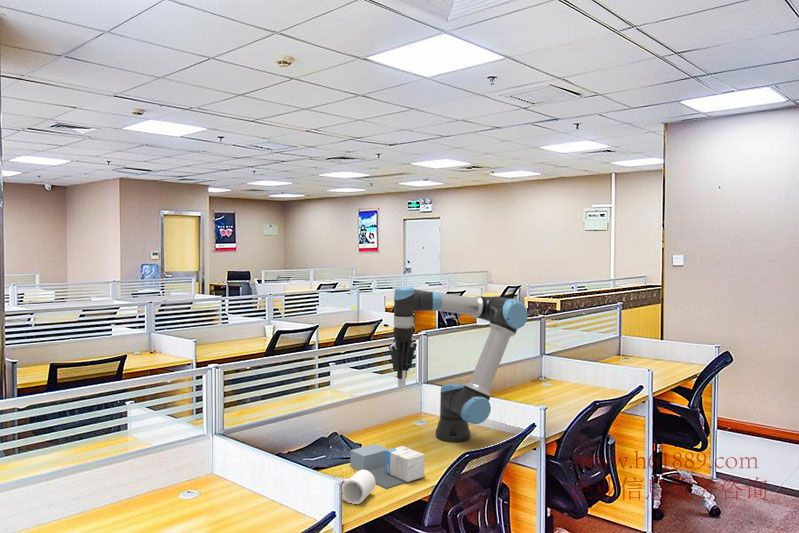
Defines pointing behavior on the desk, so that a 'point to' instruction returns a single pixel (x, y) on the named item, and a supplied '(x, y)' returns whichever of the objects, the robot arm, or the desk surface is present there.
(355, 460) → the step
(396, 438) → the desk surface
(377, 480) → the mat
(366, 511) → the desk surface
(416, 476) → the ink box
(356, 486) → the mug
